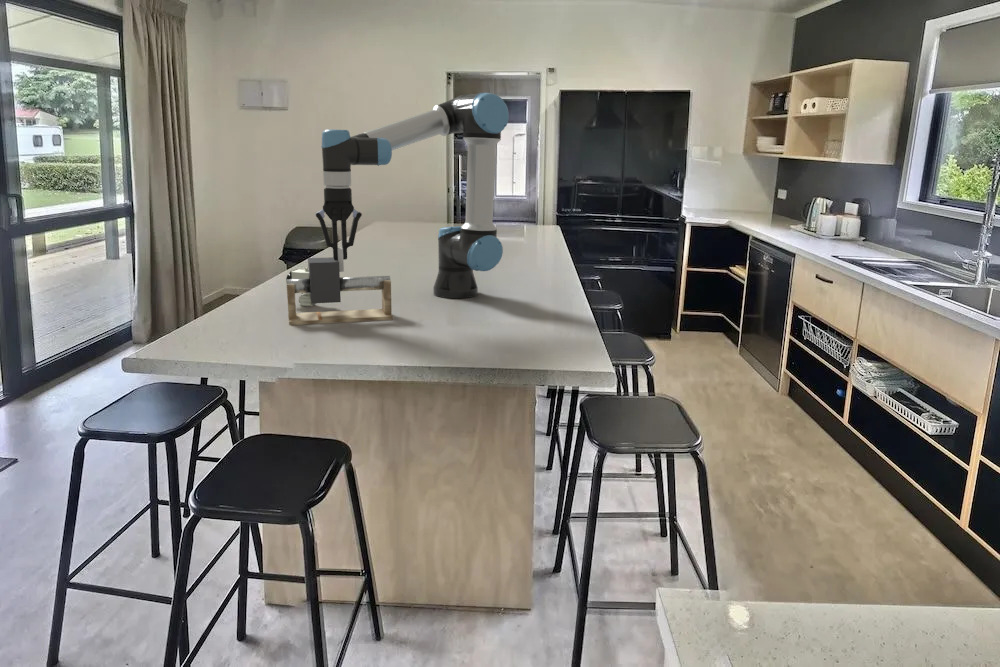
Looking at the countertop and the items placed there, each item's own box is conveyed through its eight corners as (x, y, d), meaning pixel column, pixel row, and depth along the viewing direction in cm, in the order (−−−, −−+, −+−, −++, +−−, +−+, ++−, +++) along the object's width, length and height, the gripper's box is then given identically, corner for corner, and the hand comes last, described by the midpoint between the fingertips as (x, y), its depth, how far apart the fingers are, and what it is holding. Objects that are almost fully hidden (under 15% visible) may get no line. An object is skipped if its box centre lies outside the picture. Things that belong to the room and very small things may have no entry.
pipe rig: (387, 311, 217) (386, 276, 214) (393, 319, 208) (392, 282, 205) (288, 316, 208) (286, 279, 206) (289, 325, 199) (287, 286, 196)
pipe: (388, 287, 212) (388, 274, 211) (390, 290, 208) (390, 277, 207) (287, 291, 204) (286, 278, 202) (287, 294, 200) (286, 280, 199)
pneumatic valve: (322, 308, 219) (320, 269, 216) (287, 306, 222) (285, 267, 219) (330, 304, 225) (328, 266, 222) (295, 302, 227) (293, 264, 224)
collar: (337, 296, 210) (336, 257, 207) (340, 302, 203) (339, 262, 200) (309, 297, 208) (307, 258, 205) (311, 303, 200) (309, 262, 197)
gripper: (359, 186, 204) (362, 268, 210) (312, 186, 200) (316, 269, 206) (362, 188, 197) (365, 272, 203) (314, 187, 193) (318, 274, 199)
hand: (340, 270), depth 205 cm, fingers closed
